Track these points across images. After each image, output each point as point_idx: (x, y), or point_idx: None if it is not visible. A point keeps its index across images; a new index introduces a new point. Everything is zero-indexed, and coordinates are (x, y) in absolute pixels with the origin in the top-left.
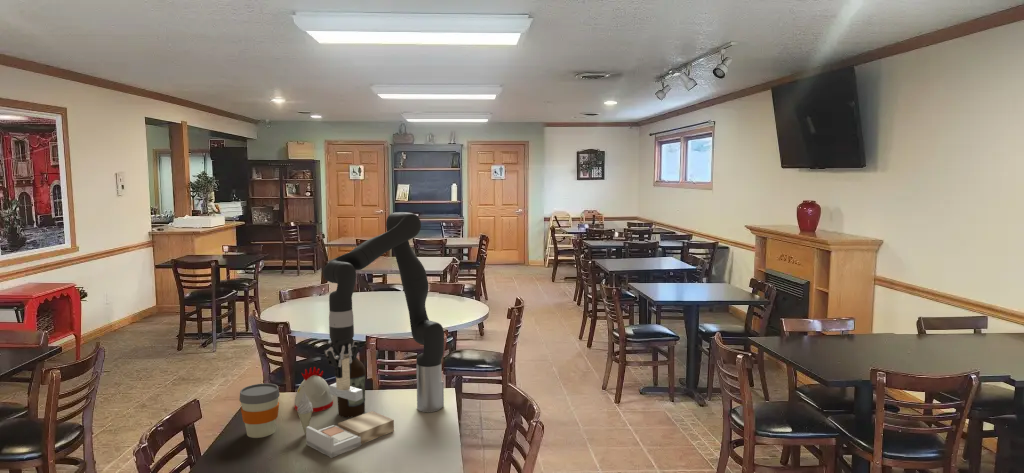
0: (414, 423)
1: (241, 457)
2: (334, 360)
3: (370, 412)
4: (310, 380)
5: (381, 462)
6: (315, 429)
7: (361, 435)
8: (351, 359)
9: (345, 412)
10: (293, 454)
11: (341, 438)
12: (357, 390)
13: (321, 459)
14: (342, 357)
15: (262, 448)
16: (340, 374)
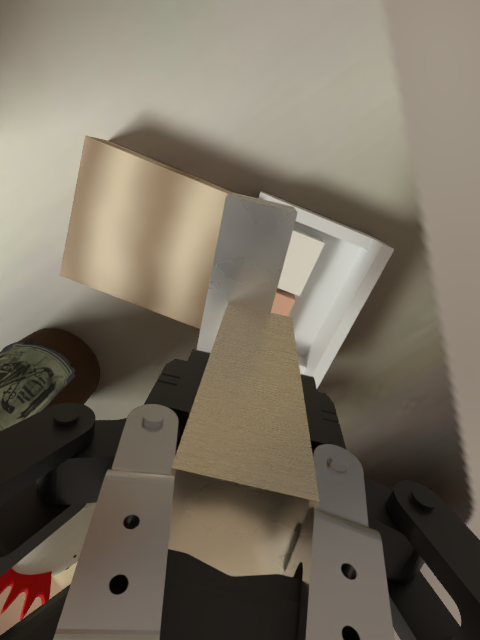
0: (10, 97)
1: (423, 468)
2: (471, 576)
3: (74, 273)
4: (45, 560)
5: (366, 16)
6: (324, 353)
7: None
8: (128, 432)
9: (90, 371)
10: (377, 360)
11: (306, 249)
12: (256, 220)
13: (391, 261)
14: (331, 538)
15: (361, 453)
16: (316, 391)
